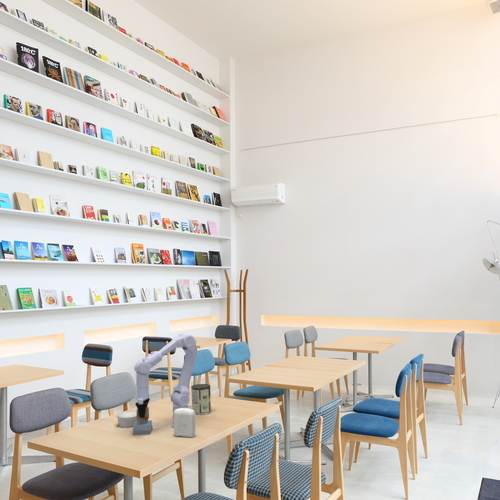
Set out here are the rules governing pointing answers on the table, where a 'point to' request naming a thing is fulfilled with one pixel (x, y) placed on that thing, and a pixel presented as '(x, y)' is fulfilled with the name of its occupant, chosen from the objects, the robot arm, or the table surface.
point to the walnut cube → (145, 415)
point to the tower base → (143, 431)
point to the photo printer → (184, 422)
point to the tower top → (142, 425)
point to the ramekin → (127, 418)
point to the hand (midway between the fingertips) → (142, 416)
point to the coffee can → (201, 399)
